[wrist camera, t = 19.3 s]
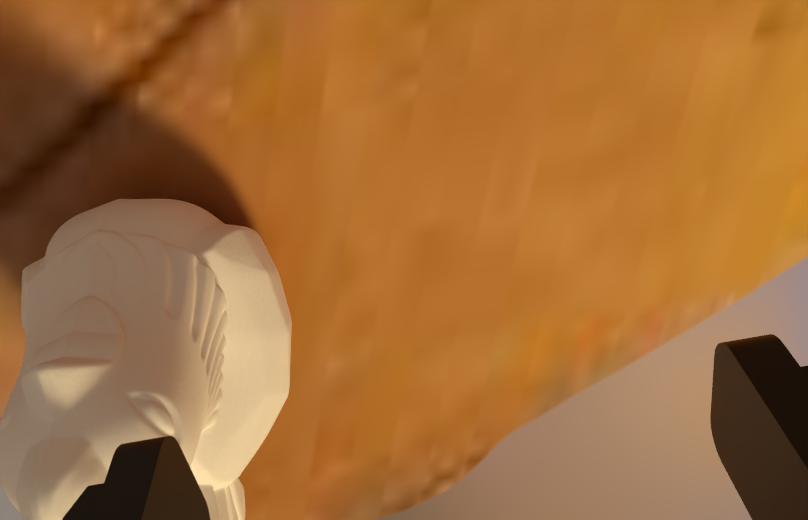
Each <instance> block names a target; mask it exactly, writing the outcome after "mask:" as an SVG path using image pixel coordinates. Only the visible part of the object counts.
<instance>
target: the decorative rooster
mask: <svg viewBox="0 0 808 520" xmlns="http://www.w3.org/2000/svg"><path fill="white" fill-rule="evenodd" d="M21 321H22V324H23V328H24V331H25V334H26V345H25V353H24V359H23V363H22V367H21V370H20V373H19V376H18V378H17V381H16V383H15V386H14V388H13V391H12V393H11V396H10V398H9V400H8V403H7V405H6V408H5V410H4V413H3V415H2V418H1V421H0V484H1V487H2V489H3V491H4V493H5V494H6V496H7V497H8V499H9V500H10V502H11V503H12V504H13V505H14V506H15V508H16V509H17V510H19V511H20V514H21V516H22V518H23V520H62V519H63V517H64V516H65V514H66V513H67V512H68V511H69V509H70V508H71V507H72V505H73V504H74V503H75V502H76V500H77V499H78V498H79V497H80V495H81V494H82V493H83V491H84V490H85V489H86V488H87V486H90V485H96V484H102V483H104V482H105V479H106V476H107V473H108V470H109V467H110V464H111V461H112V458H113V455H114V452H115V450H116V449H117V447H118V446H119V445H121V444H124V443H130V442H136V441H142V440H147V439H153V438H159V437H165V436H173V437H174V438H175V439H176V440H177V441H178V443H179V445H180V447H181V449H182V451H183V454H184V456H185V458H186V460H187V462H188V464H189V466H190V468H191V470H192V472H193V475H194V477H195V479H196V481H197V483H198V485H199V487H200V489H201V491H202V494H203V496H204V498H205V500H206V502H207V506H208V510H209V514H210V520H245V498H244V488H243V485H242V483H241V482H240V480H239V479H238V477H239V476H240V475H241V473H242V471H243V470H244V469H245V467H246V466H247V465H248V463H249V462H250V460H251V459H252V457H253V456H254V454H255V453H256V452H257V450H258V449H259V447H260V446H261V444H262V443H263V441H264V439H265V438H266V436H267V435H268V433H269V431H270V429H271V427H272V426H273V424H274V422H275V420H276V418H277V416H278V414H279V412H280V410H281V408H282V406H283V404H284V403H285V401H286V399H287V397H288V394H289V386H290V353H291V325H292V323H291V316H290V312H289V308H288V305H287V301H286V297H285V294H284V290H283V286H282V283H281V279H280V276H279V273H278V270H277V268H276V266H275V264H274V262H273V260H272V258H271V256H270V254H269V252H268V250H267V248H266V246H265V244H264V242H263V240H262V238H261V237H260V235H259V234H258V233H257V232H256V231H255V230H253V229H251V228H248V227H245V226H238V225H228V224H224V223H223V222H222V221H220V220H219V219H218V218H216V217H215V216H214V215H212V214H211V213H209V212H208V211H206V210H204V209H203V208H201V207H199V206H196V205H194V204H191V203H188V202H185V201H181V200H174V199H117V200H114V201H111V202H109V203H106V204H103V205H101V206H98V207H96V208H93V209H91V210H88V211H85V212H83V213H80V214H78V215H76V216H74V217H73V218H71V219H69V220H68V221H67V222H65V223H64V224H63V225H62V226H61V227H60V228H59V229H58V230H57V231H56V232H55V234H54V235H53V237H52V238H51V240H50V242H49V244H48V246H47V249H46V253H45V257H43V258H41V259H39V260H38V261H36V262H34V263H32V264H30V265H28V266H27V267H25V268H24V269H23V271H22V294H21Z"/></svg>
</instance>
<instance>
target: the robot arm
mask: <svg viewBox="0 0 808 520" xmlns="http://www.w3.org/2000/svg"><path fill="white" fill-rule="evenodd" d="M711 429H712V435H713V439H714V443H715V446H716V449H717V452H718V455H719V457H720V459H721V461H722V464H723V465H724V467H725V469H726V471H727V473H728V475H729V477H730V478H731V480H732V482H733V484H734V486H735V488H736V490H737V492H738V494H739V495H740V497H741V499H742V501H743V503H744V505H745V507H746V508H747V510H748V512H749V514H750V516H751V518H752V520H808V366H804V367H800V366H799V364H798V363H797V362H796V360H795V359H794V358H793V356H792V355H791V354H790V352H789V351H788V350H787V348H786V347H785V346H784V344H783V343H782V342H781V340H780V339H779V338H778V337H776V336H775V335H771V334H770V335H764V336H758V337H752V338H747V339H741V340H735V341H729V342H723V343H720V344H718V345H717V347H716V349H715V356H714V371H713V387H712V403H711ZM62 520H210V514H209V510H208V506H207V502H206V500H205V498H204V496H203V494H202V491H201V489H200V487H199V485H198V483H197V481H196V479H195V477H194V475H193V472H192V470H191V468H190V466H189V464H188V462H187V460H186V458H185V456H184V454H183V451H182V449H181V447H180V445H179V443H178V441H177V440H176V439H175V438H174V437H173V436H165V437H159V438H153V439H147V440H142V441H136V442H130V443H124V444H121V445H119V446H118V447H117V449H116V450H115V452H114V455H113V458H112V461H111V464H110V467H109V470H108V473H107V476H106V479H105V482H104V483H102V484H96V485H90V486H87V488H86V489H85V490H84V491H83V493H82V494H81V495H80V497H79V498H78V499H77V500H76V502H75V503H74V504H73V505H72V507H71V508H70V509H69V511H68V512H67V513H66V514H65V516H64V517H63V519H62Z"/></svg>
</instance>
